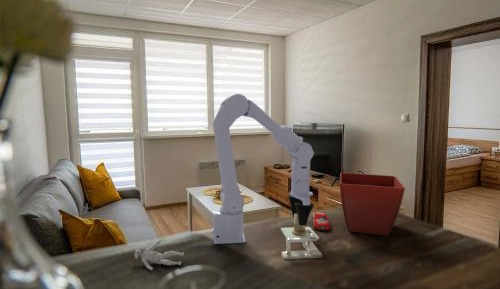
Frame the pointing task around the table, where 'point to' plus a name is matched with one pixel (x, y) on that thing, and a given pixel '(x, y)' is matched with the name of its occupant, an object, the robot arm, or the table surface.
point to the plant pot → (370, 202)
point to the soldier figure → (156, 256)
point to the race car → (320, 221)
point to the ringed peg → (298, 227)
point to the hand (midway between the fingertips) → (299, 220)
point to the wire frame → (307, 244)
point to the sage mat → (289, 235)
